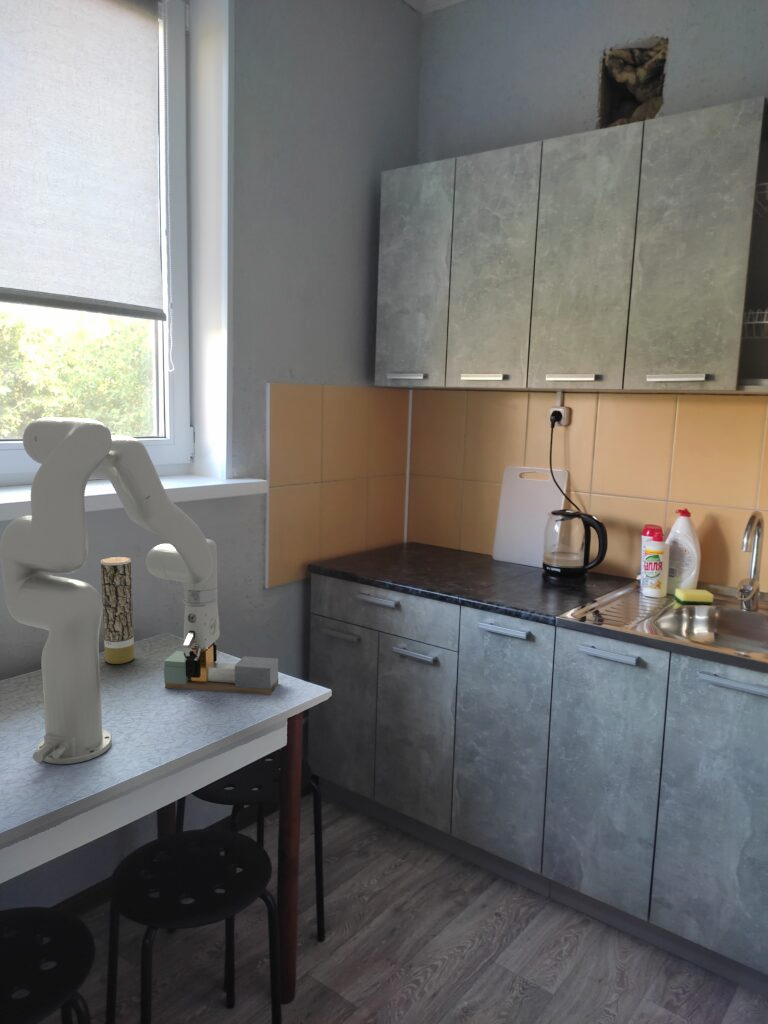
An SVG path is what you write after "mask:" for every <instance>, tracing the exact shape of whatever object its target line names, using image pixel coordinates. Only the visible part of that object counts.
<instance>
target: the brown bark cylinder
mask: <svg viewBox="0 0 768 1024" xmlns="http://www.w3.org/2000/svg"><path fill="white" fill-rule="evenodd" d="M100 575H101V577H100V579H101V598H102V602H103V612H102V620H103V624H102V625H103V626H102V627H103V646H104V647H103V648H104V659H105V660H104V661H105V662H106V663H108V664H112V665H121V664H126V663H130V662H131V661H133V660H134V658H135V634H134V609H133V608H134V607H133V606H134V605H133V603H134V602H133V581H132V580H133V579H132V578H133V577H132V576H133V575H132V559H131V558H130V557H124V556H116V557H107V558H103V559H101V560H100Z"/></svg>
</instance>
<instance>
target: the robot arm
mask: <svg viewBox="0 0 768 1024" xmlns="http://www.w3.org/2000/svg"><path fill="white" fill-rule="evenodd" d="M22 435H23V436H22V443H23V449H24V450H25V452H26V454H27V455H28V456H29V458H31V460H32V461H34V462H36V463H38V464H40V466H39V468H38V470H36V474H35V476H34V477H33V480H32V483H31V488H30V509H31V510H30V512H31V515H23V516H20V517H17V518H15V519H14V520H12V521H11V522H9V524H8V525H7V526H6V527H5V529H4V531H3V533H2V535H1V538H0V565H1V566H0V567H1V573H2V582H3V590H4V597H5V599H4V600H5V603H6V607H7V610H8V612H9V614H10V616H11V617H12V619H14V620H15V621H16V622H17V623H20V624H21V625H22V624H23V625H25V626H30V627H34V628H38V629H42V630H46V631H48V636H47V639H46V642H45V644H44V647H43V649H42V653H41V659H40V661H41V663H40V664H41V673H42V675H41V677H42V694H43V695H42V696H43V709H44V712H43V713H44V727H45V728H44V729H45V734H44V735H43V740H41V741H40V742H39V743H38V744H37V747H36V751H34V752H33V754H32V759H33V760H34V761H35V762H36V763H42V762H45V763H48V764H55V765H70V764H78V763H83V762H85V761H89V760H91V759H94V758H97V757H99V756H101V755H103V754H104V753H106V752H107V751H108V749H110V747H111V746H112V742H113V739H112V734H111V733H110V732H108V731H107V730H105V729H103V716H102V714H103V713H102V695H101V694H102V693H101V691H102V688H101V672H100V671H101V670H100V650H99V648H100V647H99V646H100V645H99V644H100V642H99V641H100V640H99V639H100V630H101V623H102V619H103V602H102V594H100V592H99V591H98V589H97V588H95V587H94V586H93V585H91V584H90V583H88V582H86V581H83V580H79V579H74V578H70V577H64V576H63V577H62V576H56V575H55V576H54V575H53V573H54V574H67V575H68V574H72V573H76V572H78V571H80V570H82V568H83V567H84V566H85V565H86V564H87V561H88V558H89V538H88V529H87V528H88V527H87V526H88V524H87V518H86V508H85V506H86V505H85V503H86V502H85V501H86V500H85V492H86V488H87V485H88V482H89V479H90V478H95V479H106V480H108V481H109V482H110V483H111V485H112V487H113V489H114V491H115V494H116V495H117V497H118V499H119V501H120V502H121V505H122V507H123V509H124V510H125V513H126V515H127V516H128V518H129V519H130V520H131V521H132V522H133V523H136V524H137V525H138V526H140V527H141V528H143V529H145V530H147V531H150V532H151V533H153V534H155V535H156V536H157V535H158V536H159V537H161V538H162V539H163V540H165V541H166V542H165V543H160V544H158V545H156V546H154V547H152V548H151V549H150V550H149V552H148V553H147V555H146V558H145V566H146V569H147V571H148V572H149V573H150V574H151V575H152V576H154V577H156V578H157V579H158V578H159V579H163V580H169V581H173V582H174V581H175V582H176V581H177V582H181V587H182V592H181V593H182V603H183V604H184V613H183V614H184V616H183V645H182V650H183V651H184V656H185V666H186V677H193V678H199V677H200V676H201V667H200V659H199V655H200V651H201V648H202V649H203V650H205V649H207V648H208V647H209V646H210V645H213V662H216V663H217V659H218V657H217V655H218V654H217V643H218V639H219V638H220V634H221V632H220V631H221V630H220V615H219V605H218V599H219V598H218V557H217V556H218V553H217V552H218V550H217V549H218V548H217V543H216V542H215V541H214V540H213V539H210V538H206V537H205V534H204V532H203V531H202V530H201V528H200V527H199V525H198V524H197V523H196V522H195V521H194V520H193V519H191V517H190V516H189V515H188V514H187V513H186V512H185V511H183V509H181V508H180V507H179V506H178V505H176V504H175V503H174V502H173V501H172V500H171V499H170V498H169V496H168V494H167V492H166V490H165V488H164V485H163V483H162V481H161V479H160V477H159V475H158V472H157V470H156V468H155V465H154V463H153V460H152V459H151V457H150V454H149V453H148V450H147V448H146V447H145V445H144V444H143V443H142V441H140V440H139V439H137V438H135V437H131V436H126V435H113V434H112V433H111V430H110V429H109V428H108V426H107V425H106V424H104V423H102V422H100V421H98V420H95V419H91V418H81V417H80V418H78V417H41V418H37V419H34V420H33V421H31V422H30V423H29V424H28V425H27V426H26V428H25V429H24V432H23V434H22ZM197 645H198V646H197ZM191 650H196V653H194V652H193V651H191Z"/></svg>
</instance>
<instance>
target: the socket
mask: <svg viewBox="0 0 768 1024" xmlns="http://www.w3.org/2000/svg"><path fill="white" fill-rule="evenodd" d="M163 661H164V666H163V672H164V673H163V675H164V684H165V683H174V684H187V683H188V677H186V666H185V656H184V650H183V651H181V650H176V651H174V652H173V653H172V654H171V655H170V656H168V657H167V658H166V659H165V660H163Z"/></svg>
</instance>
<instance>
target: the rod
mask: <svg viewBox="0 0 768 1024" xmlns="http://www.w3.org/2000/svg"><path fill="white" fill-rule="evenodd" d="M196 646H198V645H196ZM191 651H193V652H194V653H196V650H191ZM199 659H200V667H201V676H200V677H199V678H193V677H188V680H191V681H198V682H207V681H214V682H228V683H235V665H236V664H237V663H229V662H217V661H216V662H213V645H210V646H209V647H208V648H207V649H205V650H203V649H202V648H201V651H200V655H199Z"/></svg>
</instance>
